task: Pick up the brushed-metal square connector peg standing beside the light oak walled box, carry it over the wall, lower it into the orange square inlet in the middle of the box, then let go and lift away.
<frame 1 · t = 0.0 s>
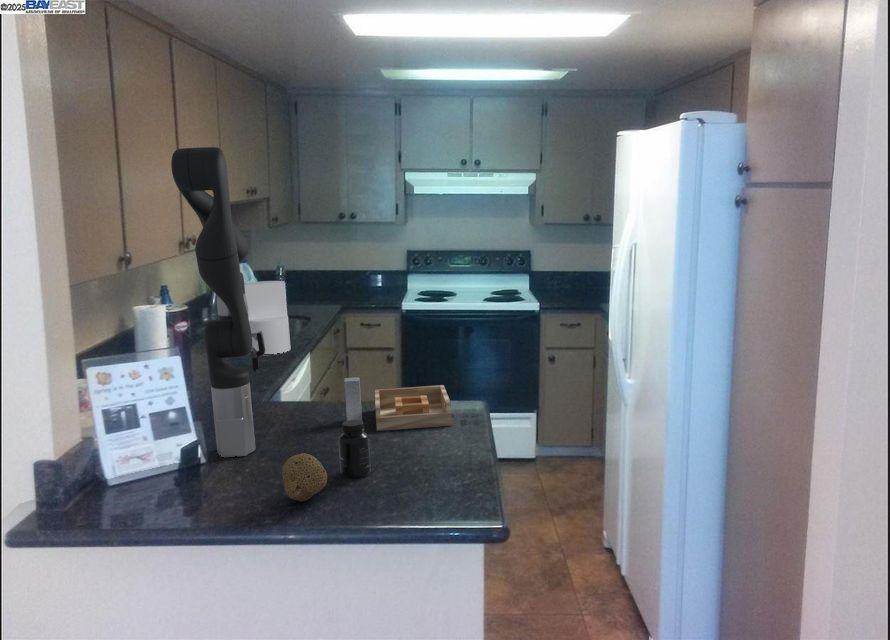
hand: (238, 372, 198), 17 cm above the countertop, tool pointing down, fingers open, 8 cm apart
supplement bottle: (356, 474, 169), on the countertop
connector peg: (354, 421, 209), on the countertop
walled box: (412, 417, 210), on the countertop
natural sponge: (306, 501, 156), on the countertop
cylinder: (269, 351, 311), on the countertop
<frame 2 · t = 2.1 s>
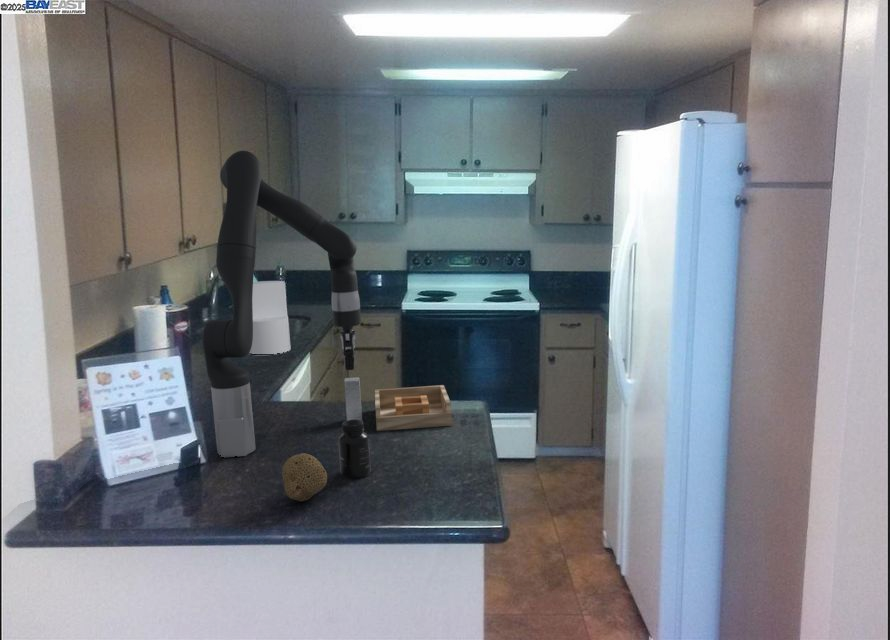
hand: (350, 366, 206), 16 cm above the countertop, tool pointing down, fingers open, 8 cm apart
nothing on the countertop moved.
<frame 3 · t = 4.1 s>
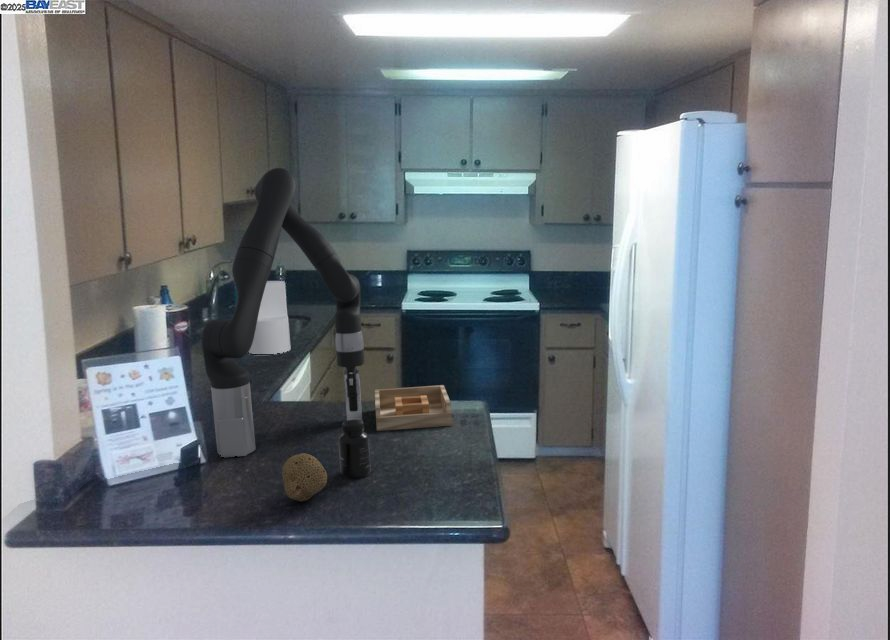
hand: (353, 408, 208), 4 cm above the countertop, tool pointing down, fingers closed on connector peg, 4 cm apart
connector peg: (354, 421, 208), on the countertop, touching gripper
everything else where it was.
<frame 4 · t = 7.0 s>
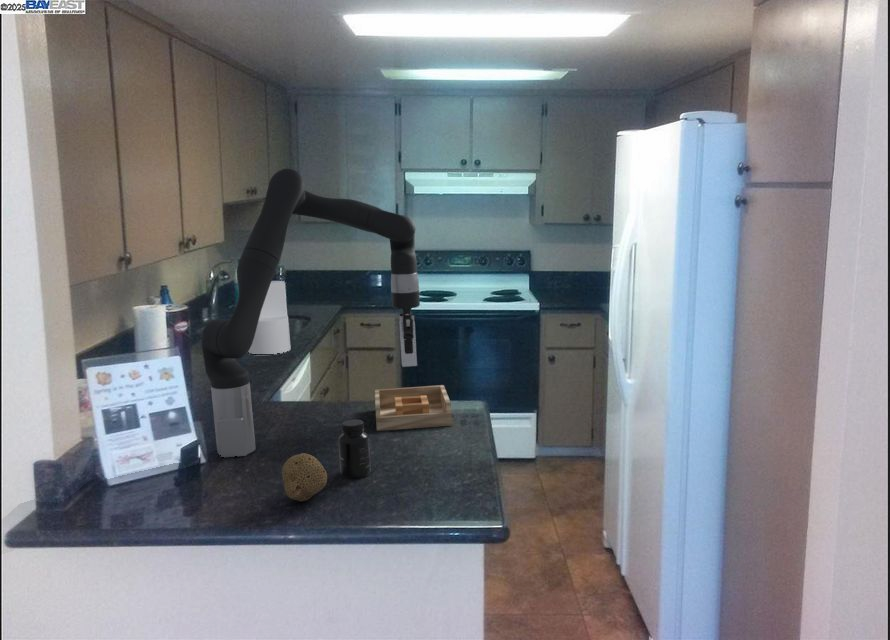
hand: (408, 351, 207), 19 cm above the countertop, tool pointing down, fingers closed on connector peg, 4 cm apart
connector peg: (409, 364, 208), point 15 cm above the countertop, touching gripper
everything else where it was.
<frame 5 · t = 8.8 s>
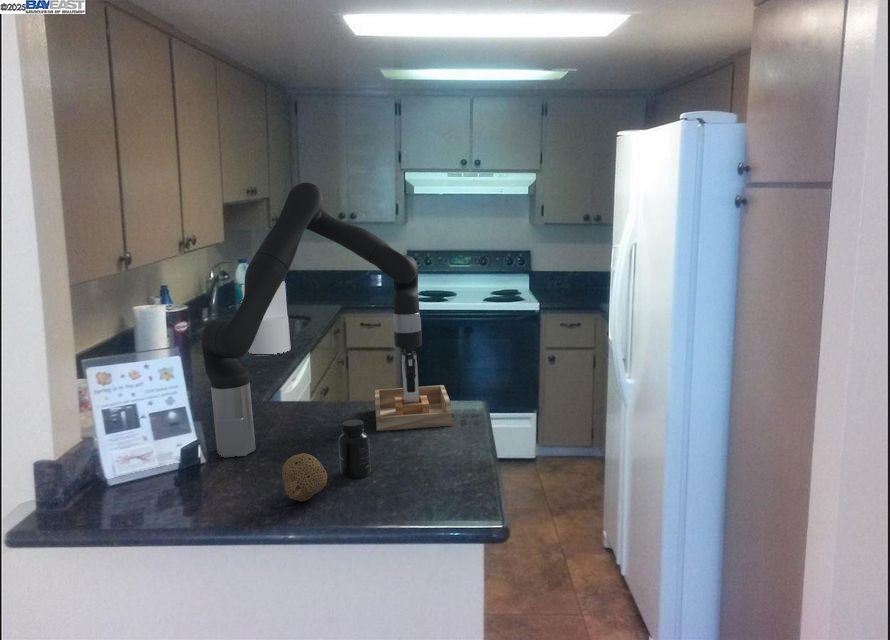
hand: (410, 389, 209), 8 cm above the countertop, tool pointing down, fingers closed on connector peg, 4 cm apart
connector peg: (411, 402, 209), point 4 cm above the countertop, touching gripper
everything else where it was.
when the fingers open (6 cm above the countertop, at t = 10.1 s): connector peg stays where it is, resting on walled box.
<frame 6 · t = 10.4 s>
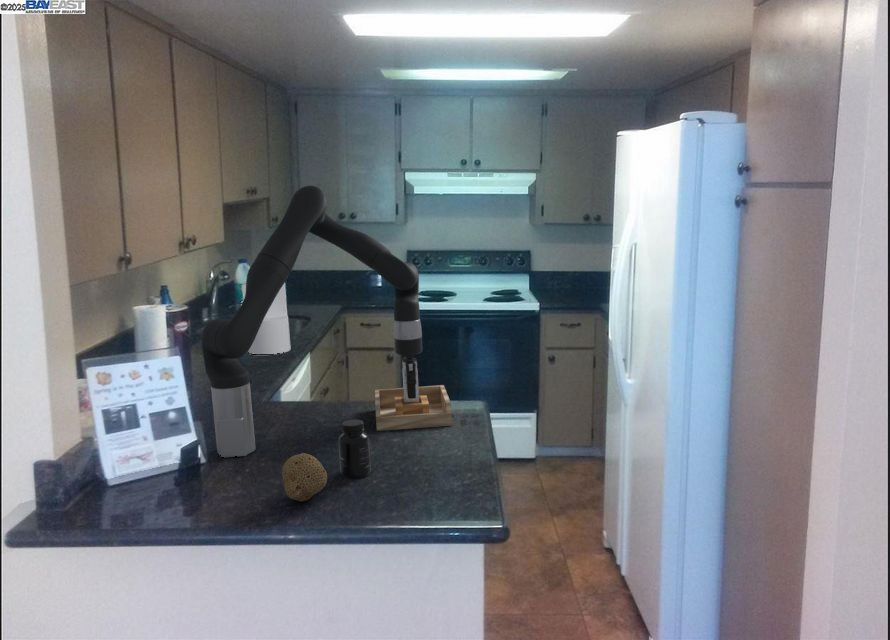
hand: (411, 394, 209), 6 cm above the countertop, tool pointing down, fingers open, 6 cm apart
connector peg: (412, 411, 210), point 2 cm above the countertop, touching walled box
everything else where it was.
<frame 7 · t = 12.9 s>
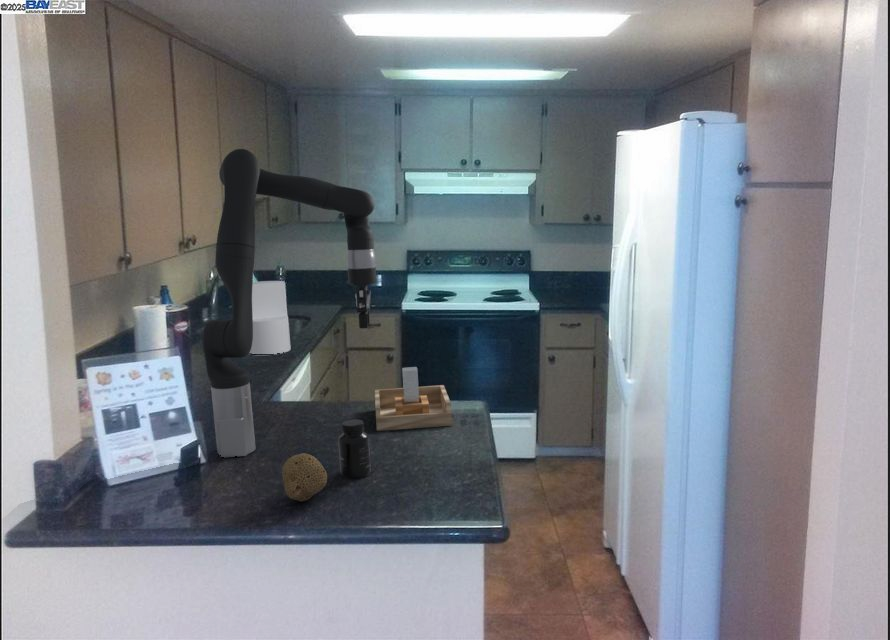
hand: (364, 326, 205), 27 cm above the countertop, tool pointing down, fingers open, 8 cm apart
nothing on the countertop moved.
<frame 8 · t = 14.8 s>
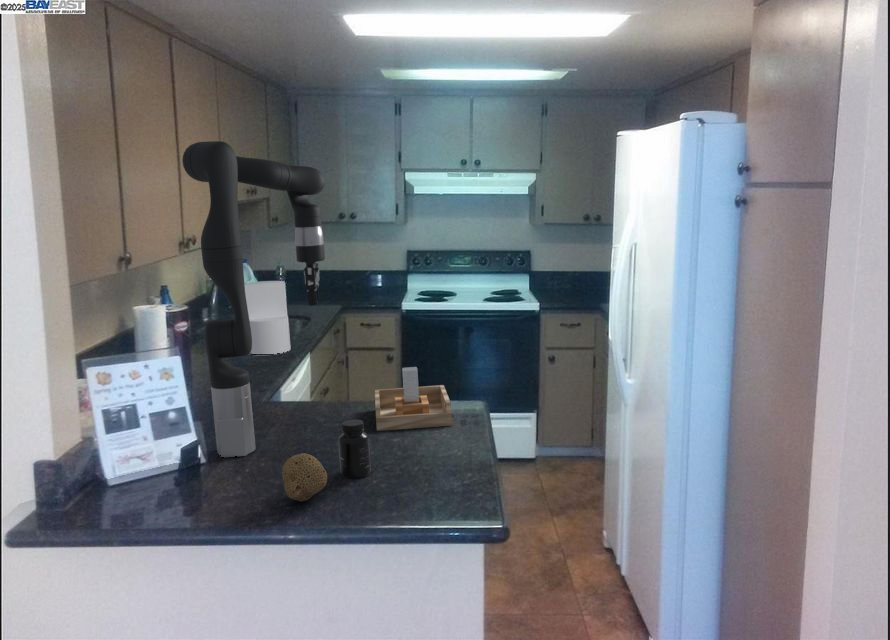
hand: (314, 303, 206), 33 cm above the countertop, tool pointing down, fingers open, 8 cm apart
nothing on the countertop moved.
at the end: connector peg 0.0 cm off-centre on the walled box, point 1.8 cm above the walled box's base; connector peg tilted 0°; the gripper is holding nothing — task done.
